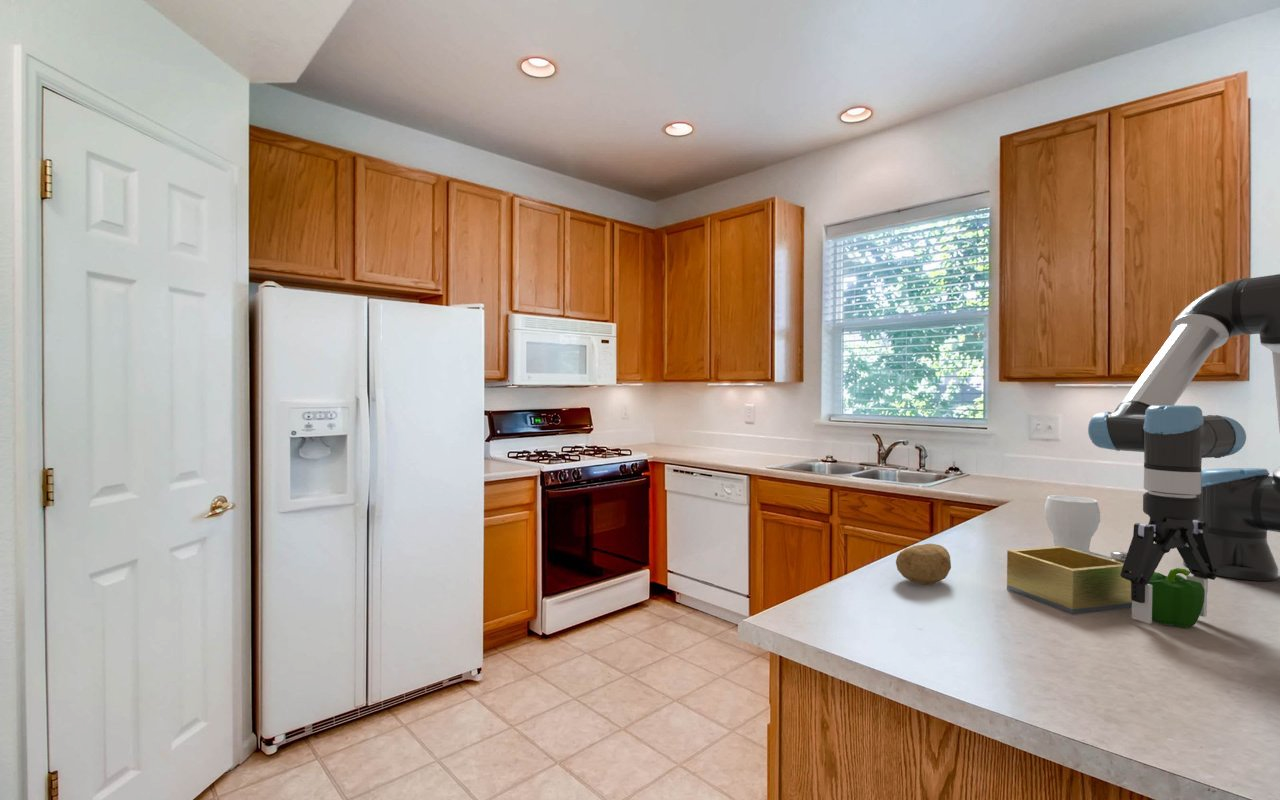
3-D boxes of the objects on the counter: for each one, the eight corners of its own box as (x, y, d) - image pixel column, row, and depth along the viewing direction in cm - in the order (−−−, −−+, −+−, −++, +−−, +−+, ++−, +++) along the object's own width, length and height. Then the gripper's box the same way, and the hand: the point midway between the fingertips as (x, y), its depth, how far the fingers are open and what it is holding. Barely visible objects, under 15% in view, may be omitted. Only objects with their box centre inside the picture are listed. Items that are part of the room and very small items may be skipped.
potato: (963, 581, 126) (964, 544, 126) (931, 595, 117) (932, 555, 117) (918, 570, 133) (918, 535, 133) (885, 583, 125) (885, 545, 125)
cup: (1109, 570, 134) (1110, 503, 134) (1056, 567, 136) (1057, 502, 136) (1084, 557, 144) (1085, 495, 144) (1035, 554, 146) (1036, 494, 146)
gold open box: (1080, 582, 125) (1080, 539, 125) (1151, 605, 112) (1152, 557, 112) (1006, 589, 121) (1007, 545, 121) (1072, 614, 107) (1073, 565, 107)
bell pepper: (1126, 613, 108) (1127, 558, 108) (1172, 614, 108) (1173, 559, 108) (1165, 632, 100) (1166, 573, 99) (1216, 633, 99) (1217, 573, 99)
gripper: (1197, 487, 110) (1195, 603, 110) (1095, 493, 104) (1093, 615, 104) (1248, 494, 103) (1245, 618, 103) (1141, 500, 97) (1139, 632, 97)
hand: (1169, 617), depth 104 cm, fingers open, 12 cm apart
